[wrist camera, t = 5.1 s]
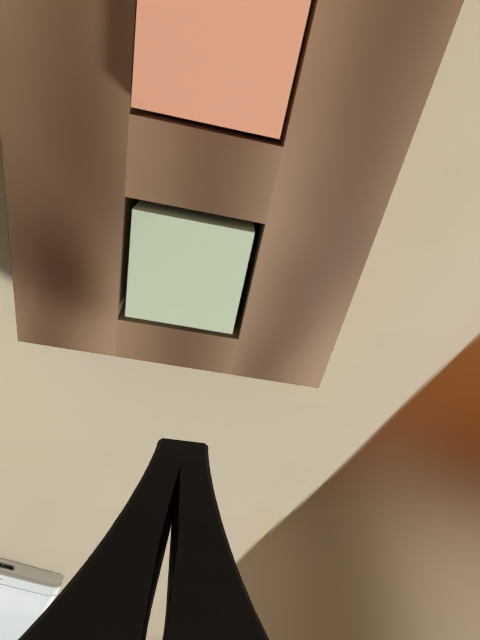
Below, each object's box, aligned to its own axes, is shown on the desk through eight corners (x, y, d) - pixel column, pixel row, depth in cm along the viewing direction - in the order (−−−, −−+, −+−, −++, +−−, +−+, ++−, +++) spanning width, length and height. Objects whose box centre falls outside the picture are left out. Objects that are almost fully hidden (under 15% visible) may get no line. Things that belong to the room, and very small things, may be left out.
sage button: (138, 287, 17) (125, 316, 15) (146, 191, 15) (132, 209, 13) (232, 304, 18) (232, 334, 15) (252, 212, 16) (254, 232, 14)
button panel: (49, 304, 18) (17, 341, 16) (9, -730, 8) (-110, -1148, 5) (308, 347, 20) (318, 388, 17) (591, -493, 9) (739, -734, 6)
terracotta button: (148, 102, 13) (130, 106, 11) (161, -66, 11) (142, -100, 9) (273, 130, 13) (279, 139, 11) (307, -27, 11) (323, -52, 9)
